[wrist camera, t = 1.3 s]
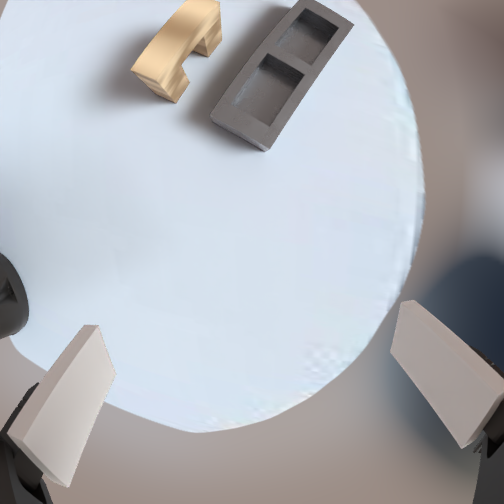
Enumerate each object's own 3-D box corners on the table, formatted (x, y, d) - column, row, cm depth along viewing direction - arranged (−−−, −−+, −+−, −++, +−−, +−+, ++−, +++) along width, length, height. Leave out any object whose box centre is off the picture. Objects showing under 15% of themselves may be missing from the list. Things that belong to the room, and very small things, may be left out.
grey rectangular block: (265, 151, 30) (269, 149, 26) (212, 121, 29) (209, 114, 25) (342, 36, 26) (354, 24, 22) (297, 9, 24) (304, -6, 21)
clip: (176, 103, 28) (156, 80, 19) (155, 93, 27) (130, 69, 18) (222, 40, 26) (219, 2, 17) (201, 31, 25) (193, -7, 16)
